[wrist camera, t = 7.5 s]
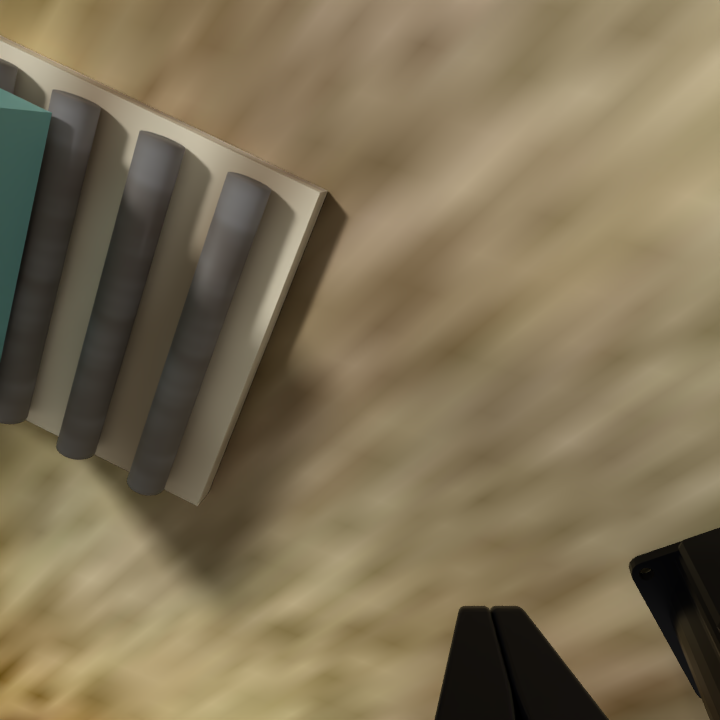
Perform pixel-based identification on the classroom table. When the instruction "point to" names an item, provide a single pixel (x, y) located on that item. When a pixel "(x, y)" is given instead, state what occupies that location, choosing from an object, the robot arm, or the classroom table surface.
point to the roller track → (143, 280)
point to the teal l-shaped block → (17, 187)
